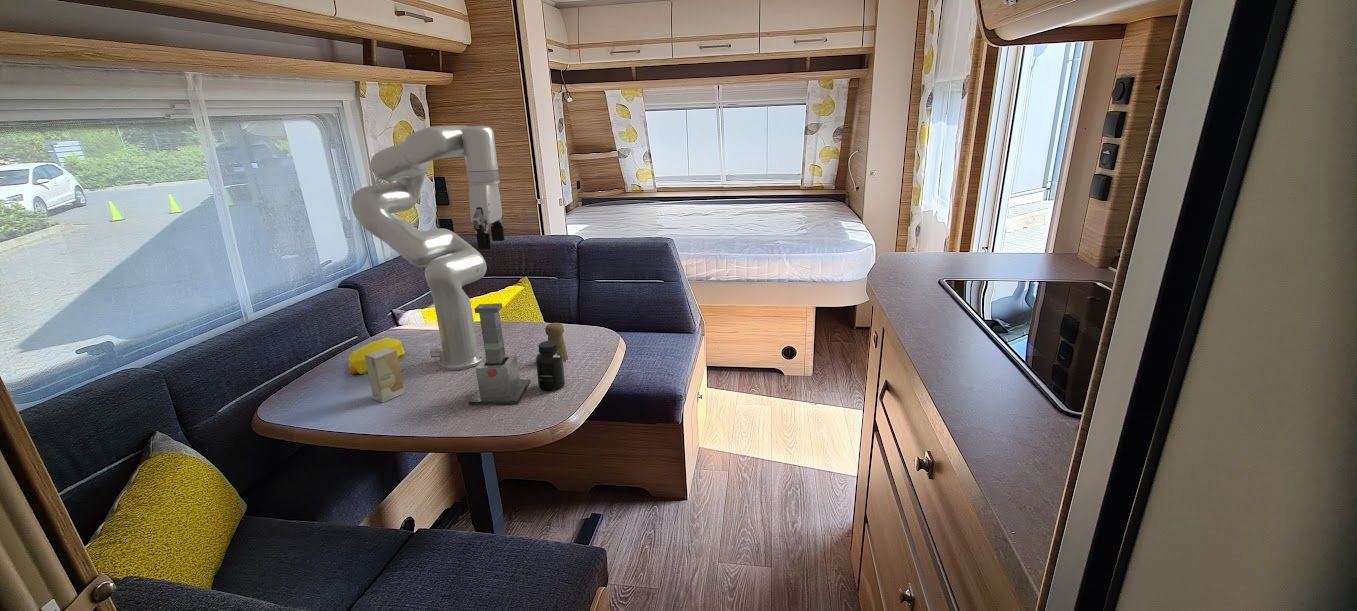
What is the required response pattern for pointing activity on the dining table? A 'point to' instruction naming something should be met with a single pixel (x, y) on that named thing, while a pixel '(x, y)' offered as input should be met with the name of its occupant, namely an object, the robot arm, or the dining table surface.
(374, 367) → the skincare box
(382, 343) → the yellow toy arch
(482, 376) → the stand base
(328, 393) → the dining table surface
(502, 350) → the column
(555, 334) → the olive knobbed figure
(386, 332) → the dining table surface
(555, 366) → the supplement bottle
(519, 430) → the dining table surface
